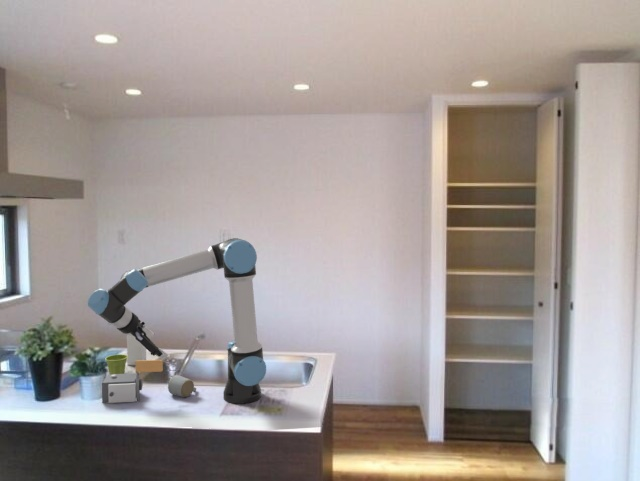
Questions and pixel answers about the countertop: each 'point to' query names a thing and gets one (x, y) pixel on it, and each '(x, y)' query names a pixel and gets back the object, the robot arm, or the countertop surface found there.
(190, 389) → the ceramic mug
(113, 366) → the plant pot
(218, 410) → the countertop surface
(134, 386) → the side door
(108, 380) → the box
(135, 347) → the milk carton
